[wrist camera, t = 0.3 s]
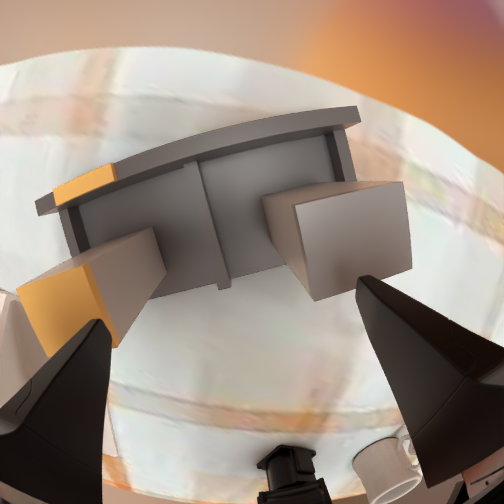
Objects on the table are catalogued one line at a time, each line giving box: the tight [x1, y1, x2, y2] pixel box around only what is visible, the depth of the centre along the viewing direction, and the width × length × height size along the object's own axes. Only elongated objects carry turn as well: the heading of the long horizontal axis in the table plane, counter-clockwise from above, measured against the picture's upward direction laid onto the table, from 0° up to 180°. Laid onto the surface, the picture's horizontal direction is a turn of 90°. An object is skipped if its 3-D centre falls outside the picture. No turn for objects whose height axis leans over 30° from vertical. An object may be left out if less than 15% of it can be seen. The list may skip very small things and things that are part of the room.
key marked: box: [16, 227, 167, 357], centre depth 16 cm, size 4×5×12 cm
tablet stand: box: [0, 290, 118, 457], centre depth 18 cm, size 18×25×17 cm
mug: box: [353, 434, 422, 504], centre depth 28 cm, size 12×9×10 cm
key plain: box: [261, 181, 412, 301], centre depth 16 cm, size 4×5×12 cm
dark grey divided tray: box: [35, 106, 361, 300], centre depth 19 cm, size 11×24×7 cm, turn 104°
